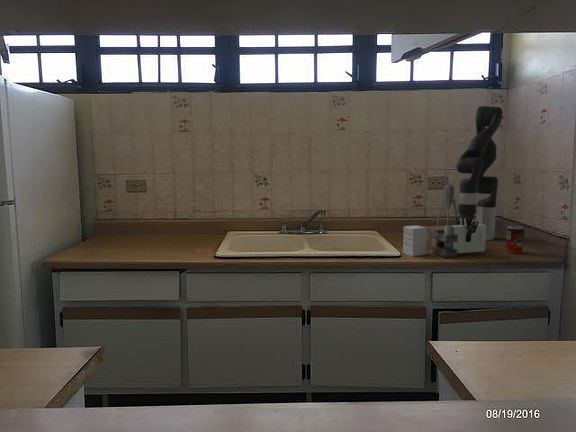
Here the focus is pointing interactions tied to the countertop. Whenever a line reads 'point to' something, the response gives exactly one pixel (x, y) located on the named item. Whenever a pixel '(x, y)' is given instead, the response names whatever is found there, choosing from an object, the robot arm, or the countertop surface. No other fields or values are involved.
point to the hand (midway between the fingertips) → (465, 240)
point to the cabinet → (439, 241)
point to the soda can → (514, 239)
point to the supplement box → (414, 240)
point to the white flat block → (461, 244)
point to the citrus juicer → (448, 201)
